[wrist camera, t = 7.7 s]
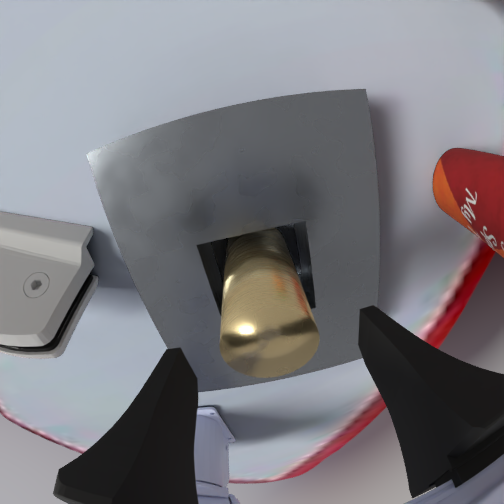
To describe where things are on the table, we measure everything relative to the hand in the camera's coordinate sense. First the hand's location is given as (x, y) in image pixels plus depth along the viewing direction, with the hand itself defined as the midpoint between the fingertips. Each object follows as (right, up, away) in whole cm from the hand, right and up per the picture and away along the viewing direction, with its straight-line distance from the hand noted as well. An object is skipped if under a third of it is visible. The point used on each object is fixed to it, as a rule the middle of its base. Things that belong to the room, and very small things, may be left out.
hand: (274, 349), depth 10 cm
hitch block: (-1, +4, +8) cm, 9 cm away
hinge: (-21, +4, +7) cm, 22 cm away
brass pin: (-1, +4, +8) cm, 9 cm away
